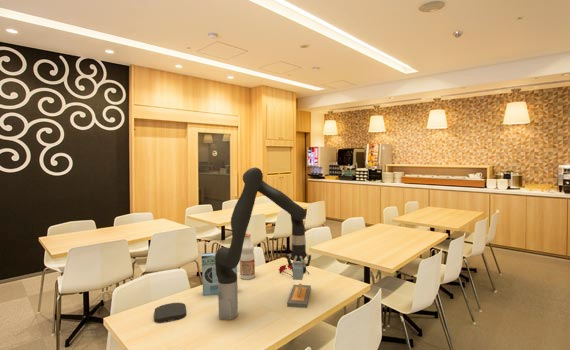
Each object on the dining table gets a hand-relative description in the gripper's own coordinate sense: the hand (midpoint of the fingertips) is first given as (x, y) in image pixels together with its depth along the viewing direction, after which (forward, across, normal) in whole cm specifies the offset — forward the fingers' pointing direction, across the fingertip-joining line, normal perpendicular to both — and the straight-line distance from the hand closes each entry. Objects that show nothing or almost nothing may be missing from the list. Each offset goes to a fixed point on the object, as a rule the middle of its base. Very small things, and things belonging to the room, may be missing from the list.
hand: (299, 273), depth 174 cm
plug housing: (+1, 0, +3) cm, 3 cm away
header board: (+13, 0, 0) cm, 13 cm away
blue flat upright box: (+13, -46, 0) cm, 48 cm away
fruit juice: (+14, -37, +25) cm, 46 cm away
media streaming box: (+13, -61, -28) cm, 69 cm away
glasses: (+14, -8, +35) cm, 38 cm away
